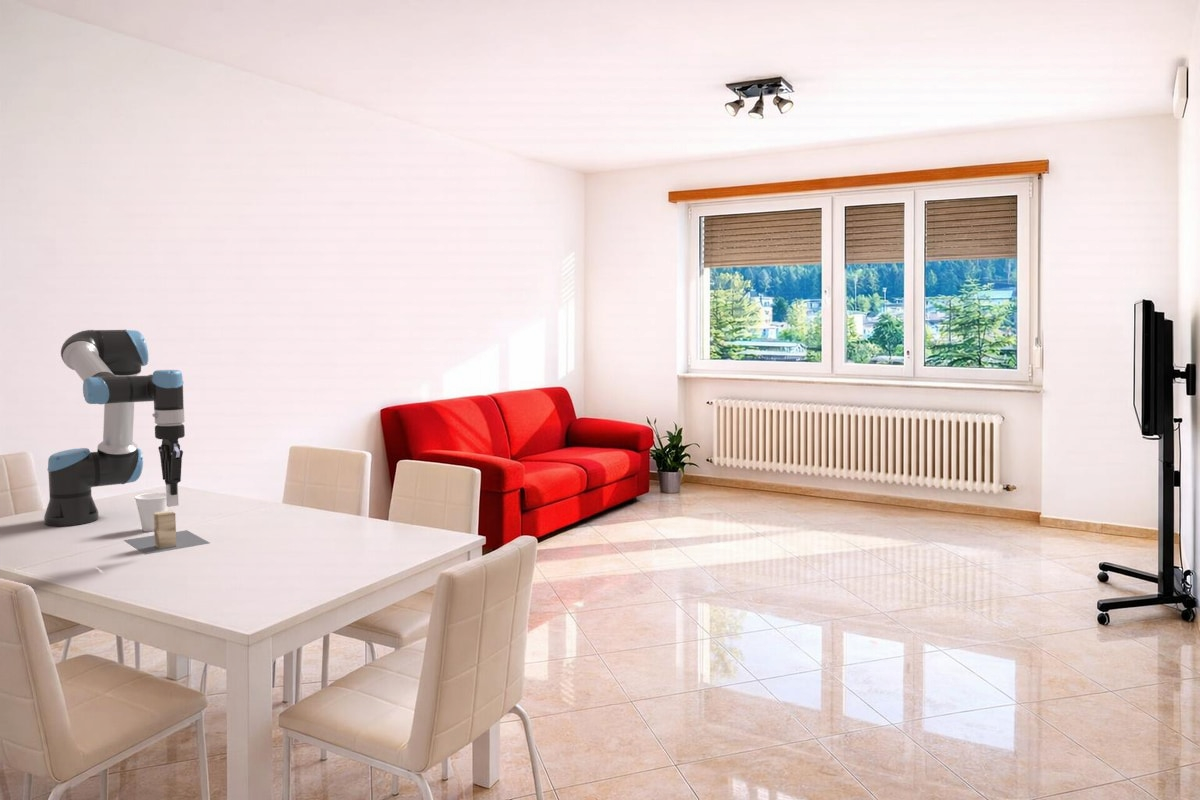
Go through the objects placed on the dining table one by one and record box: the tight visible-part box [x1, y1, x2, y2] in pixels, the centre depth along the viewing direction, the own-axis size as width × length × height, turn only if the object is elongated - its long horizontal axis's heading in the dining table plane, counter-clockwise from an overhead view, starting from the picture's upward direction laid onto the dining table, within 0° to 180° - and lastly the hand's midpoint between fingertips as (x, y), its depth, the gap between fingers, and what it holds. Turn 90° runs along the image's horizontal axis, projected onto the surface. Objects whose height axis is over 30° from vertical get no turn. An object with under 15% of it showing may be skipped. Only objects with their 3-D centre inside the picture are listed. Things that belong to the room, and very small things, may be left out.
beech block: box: [153, 510, 177, 549], centre depth 245 cm, size 4×4×10 cm
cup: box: [134, 492, 168, 533], centre depth 265 cm, size 10×10×11 cm
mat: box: [123, 529, 211, 555], centre depth 250 cm, size 20×18×1 cm
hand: (172, 505), depth 239 cm, fingers closed
